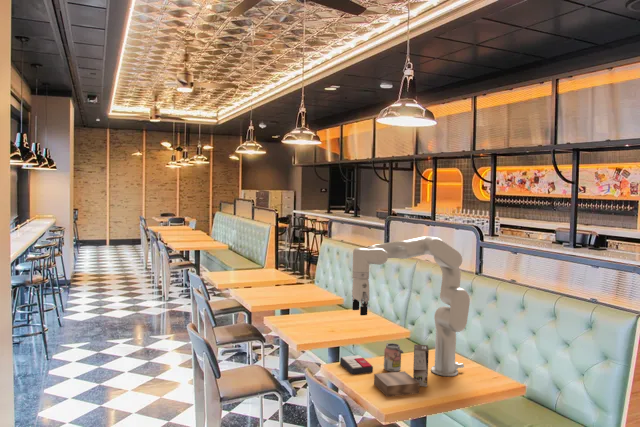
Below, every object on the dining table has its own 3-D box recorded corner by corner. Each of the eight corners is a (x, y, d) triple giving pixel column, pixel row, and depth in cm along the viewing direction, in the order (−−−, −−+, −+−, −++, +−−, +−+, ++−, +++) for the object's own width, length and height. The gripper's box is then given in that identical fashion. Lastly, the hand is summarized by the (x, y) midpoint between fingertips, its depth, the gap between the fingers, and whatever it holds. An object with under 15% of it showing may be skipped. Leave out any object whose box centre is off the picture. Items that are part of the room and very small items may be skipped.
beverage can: (394, 365, 242) (395, 341, 241) (406, 370, 234) (406, 346, 234) (380, 368, 237) (380, 343, 236) (391, 373, 230) (392, 348, 229)
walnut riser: (404, 382, 221) (404, 371, 221) (419, 394, 207) (419, 382, 207) (374, 385, 216) (374, 374, 216) (387, 397, 203) (387, 386, 203)
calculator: (352, 367, 227) (340, 355, 241) (351, 376, 228) (339, 364, 242) (373, 365, 231) (360, 353, 245) (372, 374, 231) (359, 362, 245)
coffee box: (427, 387, 215) (428, 351, 214) (412, 385, 216) (414, 349, 215) (427, 379, 224) (428, 345, 223) (413, 378, 225) (414, 343, 224)
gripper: (375, 278, 212) (374, 316, 212) (361, 271, 228) (360, 307, 229) (360, 278, 209) (358, 317, 210) (346, 272, 226) (345, 308, 227)
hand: (359, 312), depth 219 cm, fingers open, 9 cm apart
